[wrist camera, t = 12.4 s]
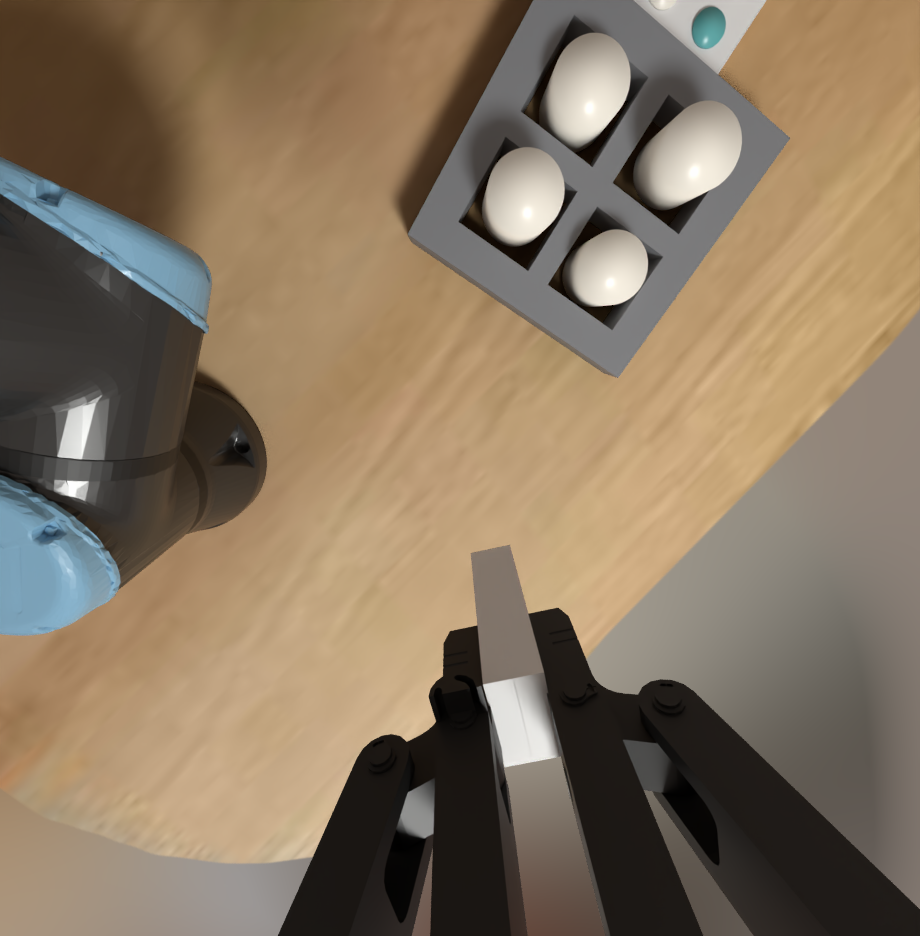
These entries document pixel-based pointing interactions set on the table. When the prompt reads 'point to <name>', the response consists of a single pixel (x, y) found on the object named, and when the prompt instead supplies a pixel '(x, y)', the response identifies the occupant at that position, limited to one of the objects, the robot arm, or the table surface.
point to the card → (705, 24)
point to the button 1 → (522, 196)
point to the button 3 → (606, 269)
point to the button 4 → (688, 156)
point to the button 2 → (585, 90)
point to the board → (591, 177)
